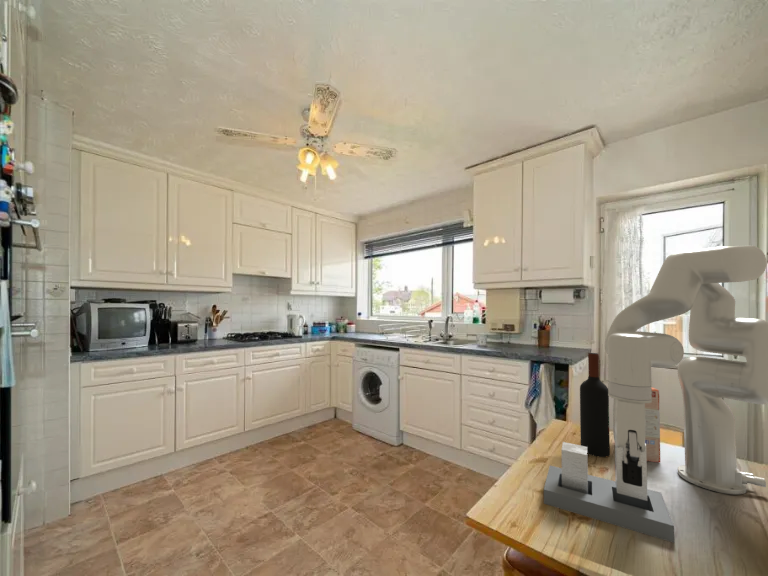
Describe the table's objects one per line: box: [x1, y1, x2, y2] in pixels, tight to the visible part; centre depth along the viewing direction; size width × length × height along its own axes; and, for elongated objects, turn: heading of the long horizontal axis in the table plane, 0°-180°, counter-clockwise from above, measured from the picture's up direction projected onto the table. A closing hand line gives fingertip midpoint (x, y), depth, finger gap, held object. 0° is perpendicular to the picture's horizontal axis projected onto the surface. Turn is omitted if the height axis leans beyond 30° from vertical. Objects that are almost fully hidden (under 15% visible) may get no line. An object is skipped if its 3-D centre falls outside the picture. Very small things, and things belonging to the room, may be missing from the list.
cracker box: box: [645, 387, 661, 463], centre depth 102 cm, size 14×6×21 cm, turn 168°
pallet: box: [543, 465, 675, 543], centre depth 73 cm, size 22×13×4 cm, turn 58°
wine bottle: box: [579, 352, 611, 458], centre depth 102 cm, size 8×8×30 cm
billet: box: [561, 441, 589, 494], centre depth 76 cm, size 5×5×11 cm
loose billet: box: [614, 444, 648, 501], centre depth 70 cm, size 5×5×11 cm
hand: (630, 477), depth 70 cm, fingers closed on loose billet, 5 cm apart
